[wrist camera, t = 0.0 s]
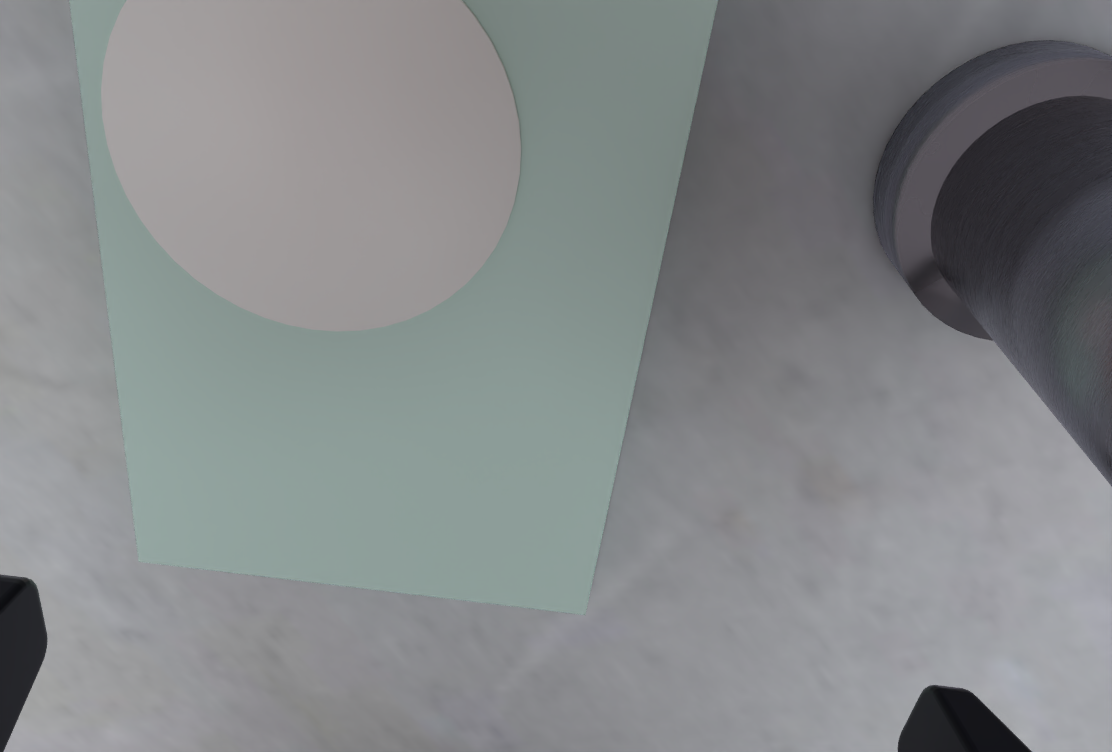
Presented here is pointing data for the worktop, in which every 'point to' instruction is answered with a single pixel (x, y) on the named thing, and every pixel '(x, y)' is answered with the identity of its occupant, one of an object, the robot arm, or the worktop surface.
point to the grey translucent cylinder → (1015, 219)
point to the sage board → (383, 276)
